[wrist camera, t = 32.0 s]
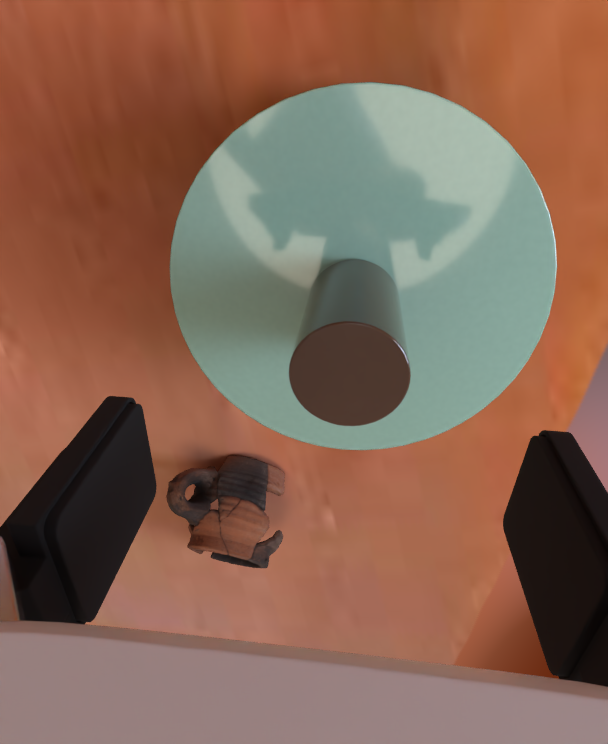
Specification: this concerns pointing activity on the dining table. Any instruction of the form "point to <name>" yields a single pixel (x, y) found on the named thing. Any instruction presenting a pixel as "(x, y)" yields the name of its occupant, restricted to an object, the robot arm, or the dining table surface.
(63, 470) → the robot arm
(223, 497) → the pottery mug
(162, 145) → the dining table surface
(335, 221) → the lid
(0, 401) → the dining table surface
